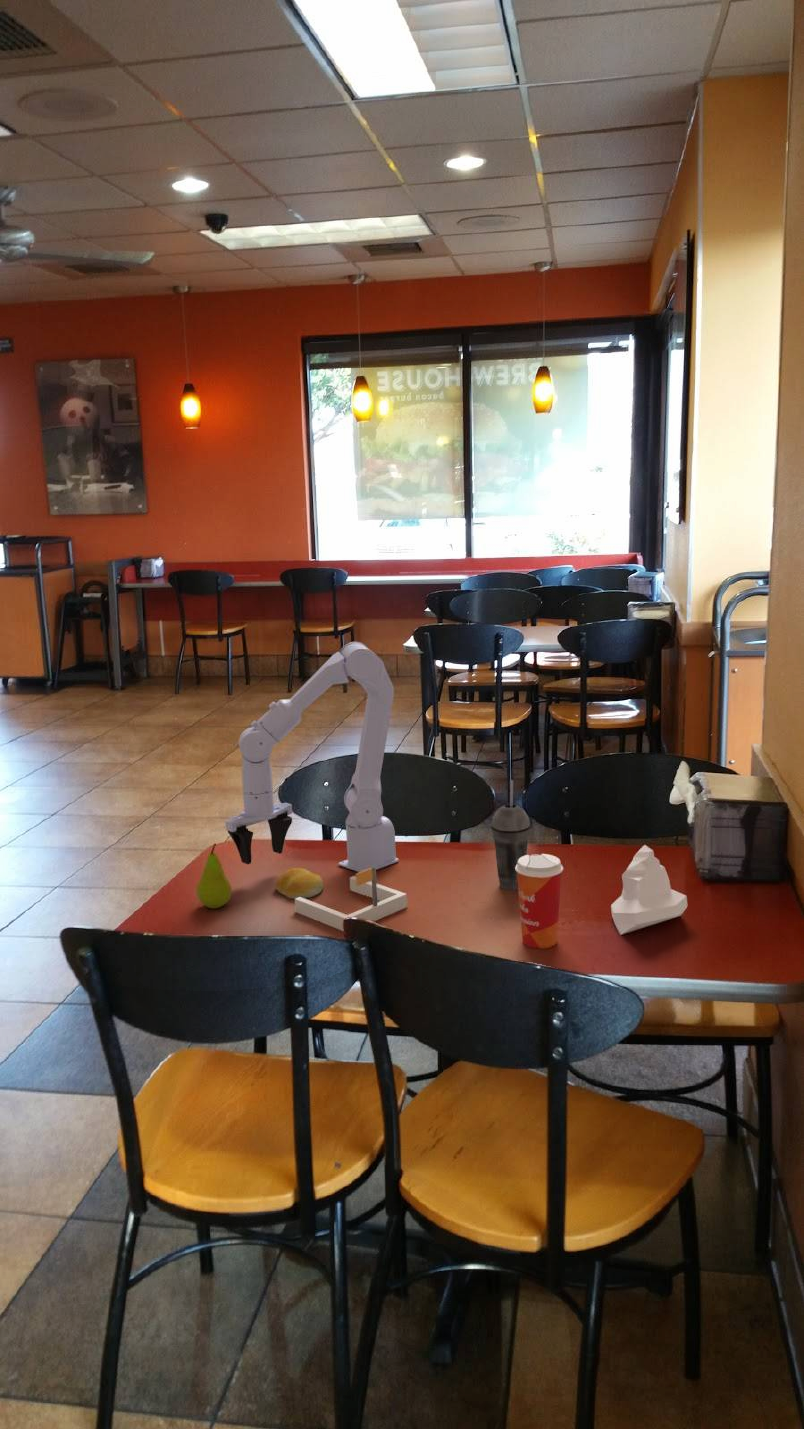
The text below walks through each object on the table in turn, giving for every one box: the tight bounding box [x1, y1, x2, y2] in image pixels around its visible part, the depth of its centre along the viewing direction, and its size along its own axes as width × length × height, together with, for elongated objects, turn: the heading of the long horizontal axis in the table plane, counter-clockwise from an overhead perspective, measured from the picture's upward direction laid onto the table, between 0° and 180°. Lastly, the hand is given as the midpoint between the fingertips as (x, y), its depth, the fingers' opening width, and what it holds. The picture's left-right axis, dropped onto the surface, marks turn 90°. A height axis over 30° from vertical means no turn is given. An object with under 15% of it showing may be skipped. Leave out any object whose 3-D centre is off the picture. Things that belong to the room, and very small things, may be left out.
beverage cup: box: [490, 779, 532, 891], centre depth 196 cm, size 7×7×20 cm
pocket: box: [294, 866, 408, 932], centre depth 189 cm, size 14×14×10 cm
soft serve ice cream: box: [610, 844, 688, 936], centre depth 179 cm, size 12×15×14 cm
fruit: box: [196, 842, 232, 909], centre depth 193 cm, size 6×6×12 cm
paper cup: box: [515, 853, 564, 950], centre depth 173 cm, size 8×8×14 cm
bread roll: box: [275, 867, 324, 900], centre depth 200 cm, size 8×9×4 cm
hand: (262, 857), depth 207 cm, fingers open, 7 cm apart
